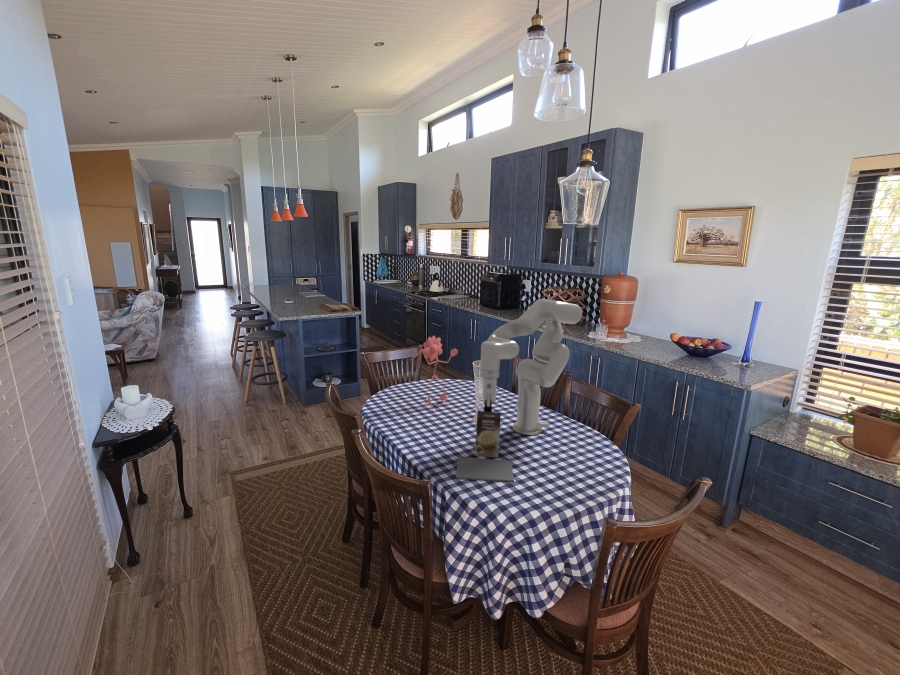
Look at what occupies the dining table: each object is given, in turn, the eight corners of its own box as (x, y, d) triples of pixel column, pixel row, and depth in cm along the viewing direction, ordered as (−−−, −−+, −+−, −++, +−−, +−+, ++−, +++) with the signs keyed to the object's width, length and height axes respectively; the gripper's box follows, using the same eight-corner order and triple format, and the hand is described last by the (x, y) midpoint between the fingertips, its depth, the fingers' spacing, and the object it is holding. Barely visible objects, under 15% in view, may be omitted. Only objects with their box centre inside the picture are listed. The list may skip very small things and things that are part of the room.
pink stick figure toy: (461, 402, 223) (461, 335, 215) (420, 414, 206) (419, 342, 199) (441, 394, 234) (441, 330, 227) (401, 405, 218) (400, 336, 210)
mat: (511, 461, 164) (511, 460, 164) (513, 481, 151) (514, 480, 150) (457, 458, 165) (457, 457, 165) (455, 478, 152) (455, 477, 152)
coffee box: (474, 456, 168) (476, 417, 164) (475, 448, 174) (476, 410, 171) (498, 457, 167) (500, 418, 164) (498, 450, 173) (500, 411, 170)
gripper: (500, 378, 163) (497, 424, 167) (498, 367, 178) (496, 410, 182) (479, 377, 164) (477, 423, 168) (480, 366, 178) (478, 409, 182)
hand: (487, 416), depth 175 cm, fingers closed
